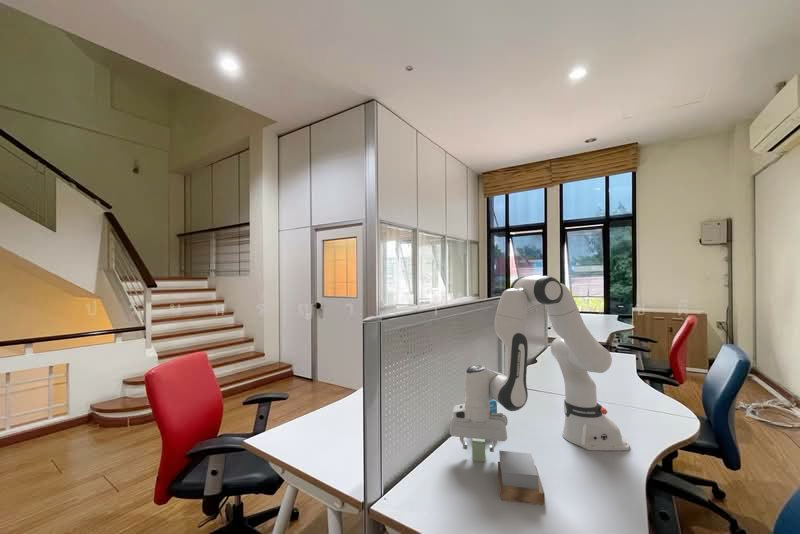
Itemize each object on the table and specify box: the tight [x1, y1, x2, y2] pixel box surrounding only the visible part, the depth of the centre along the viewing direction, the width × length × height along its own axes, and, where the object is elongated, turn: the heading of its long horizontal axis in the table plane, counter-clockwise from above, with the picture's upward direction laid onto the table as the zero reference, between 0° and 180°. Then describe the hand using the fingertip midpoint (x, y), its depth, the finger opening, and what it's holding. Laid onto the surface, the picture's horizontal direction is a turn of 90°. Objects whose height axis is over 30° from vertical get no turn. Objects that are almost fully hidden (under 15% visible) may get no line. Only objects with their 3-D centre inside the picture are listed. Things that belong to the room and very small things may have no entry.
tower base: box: [497, 461, 546, 506], centre depth 101 cm, size 12×14×4 cm
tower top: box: [498, 450, 539, 490], centre depth 102 cm, size 10×12×4 cm
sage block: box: [471, 438, 486, 463], centre depth 118 cm, size 4×4×6 cm
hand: (478, 449), depth 118 cm, fingers open, 8 cm apart
